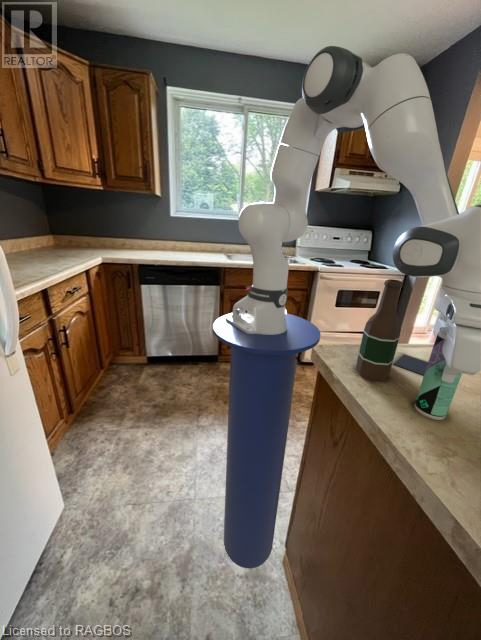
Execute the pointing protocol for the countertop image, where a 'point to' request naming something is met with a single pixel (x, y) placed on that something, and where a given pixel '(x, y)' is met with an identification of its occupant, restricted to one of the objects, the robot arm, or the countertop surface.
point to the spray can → (436, 383)
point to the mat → (412, 364)
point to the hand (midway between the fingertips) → (442, 372)
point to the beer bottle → (381, 335)
